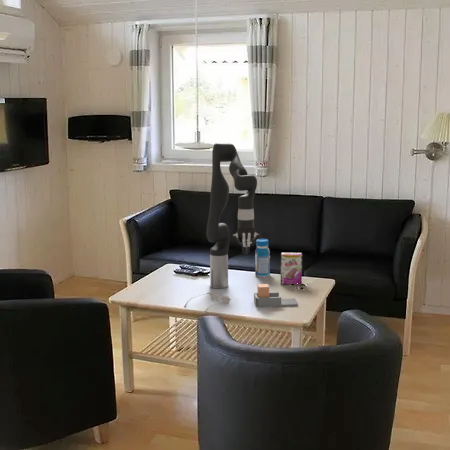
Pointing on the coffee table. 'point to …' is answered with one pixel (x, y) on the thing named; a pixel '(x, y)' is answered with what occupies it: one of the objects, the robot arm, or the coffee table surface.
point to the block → (263, 290)
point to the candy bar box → (291, 268)
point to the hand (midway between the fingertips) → (246, 254)
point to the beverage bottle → (262, 258)
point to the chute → (273, 301)
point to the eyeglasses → (215, 297)
